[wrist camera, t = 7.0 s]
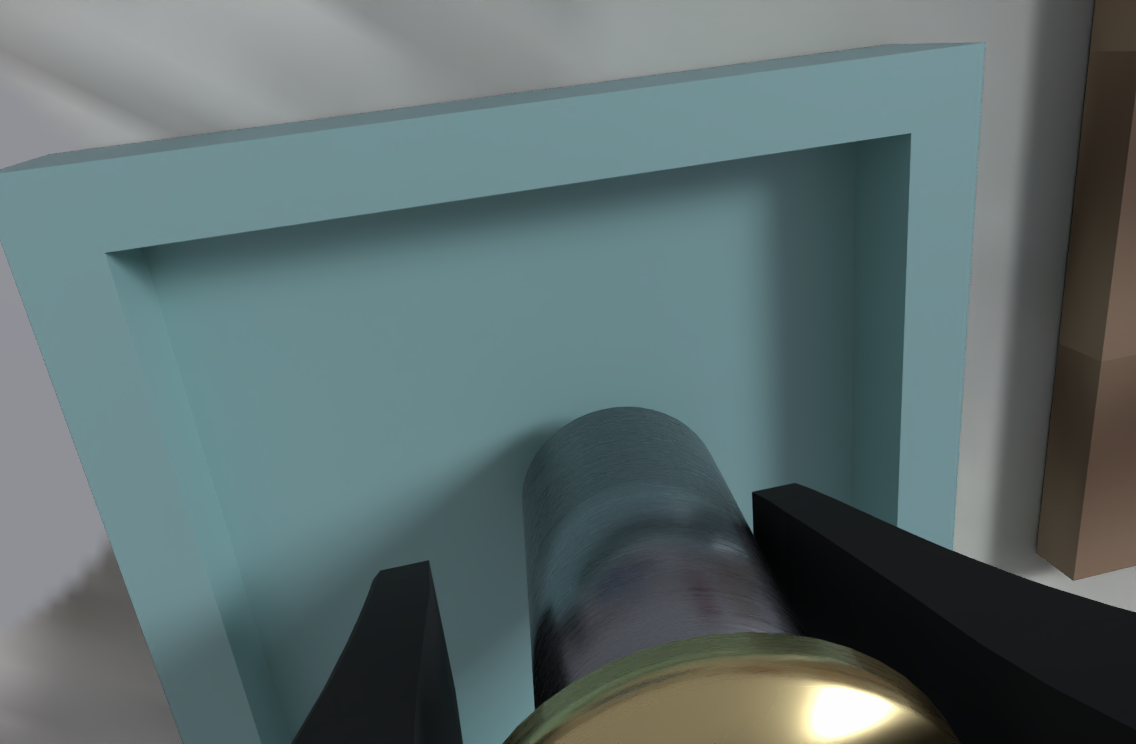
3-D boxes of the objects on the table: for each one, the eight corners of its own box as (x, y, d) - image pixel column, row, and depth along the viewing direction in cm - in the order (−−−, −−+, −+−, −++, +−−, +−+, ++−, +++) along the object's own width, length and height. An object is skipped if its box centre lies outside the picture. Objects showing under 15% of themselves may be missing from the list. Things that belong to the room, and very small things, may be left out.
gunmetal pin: (764, 600, 14) (980, 1046, 8) (494, 633, 14) (493, 1118, 8) (763, 345, 12) (1035, 650, 6) (456, 379, 12) (415, 729, 6)
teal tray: (874, 671, 17) (939, 752, 15) (269, 823, 16) (253, 937, 14) (891, 44, 13) (985, 42, 11) (49, 154, 11) (-23, 175, 9)
